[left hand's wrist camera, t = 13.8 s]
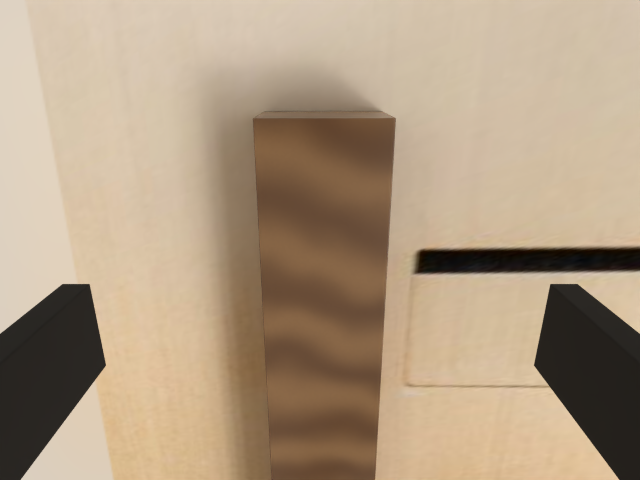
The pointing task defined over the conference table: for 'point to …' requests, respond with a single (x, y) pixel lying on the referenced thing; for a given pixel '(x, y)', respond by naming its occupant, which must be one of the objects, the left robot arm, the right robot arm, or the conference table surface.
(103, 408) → the conference table surface
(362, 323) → the slab
